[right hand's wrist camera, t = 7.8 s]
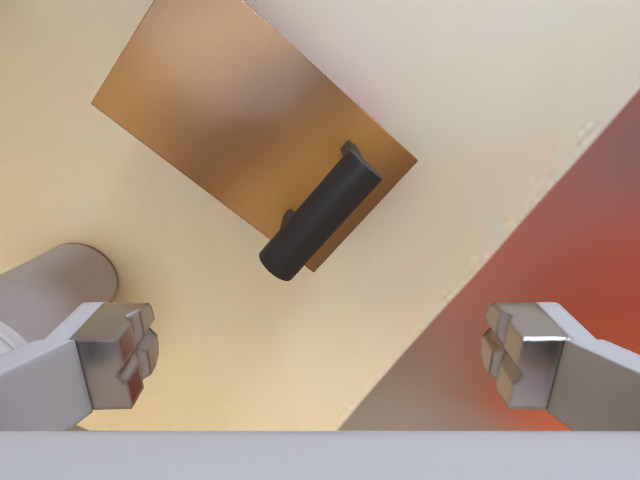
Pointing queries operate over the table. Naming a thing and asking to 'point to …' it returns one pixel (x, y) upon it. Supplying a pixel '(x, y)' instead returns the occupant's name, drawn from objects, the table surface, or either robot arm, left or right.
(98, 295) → the coffee cup
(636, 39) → the table surface
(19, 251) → the table surface
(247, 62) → the lid
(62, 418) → the right robot arm
